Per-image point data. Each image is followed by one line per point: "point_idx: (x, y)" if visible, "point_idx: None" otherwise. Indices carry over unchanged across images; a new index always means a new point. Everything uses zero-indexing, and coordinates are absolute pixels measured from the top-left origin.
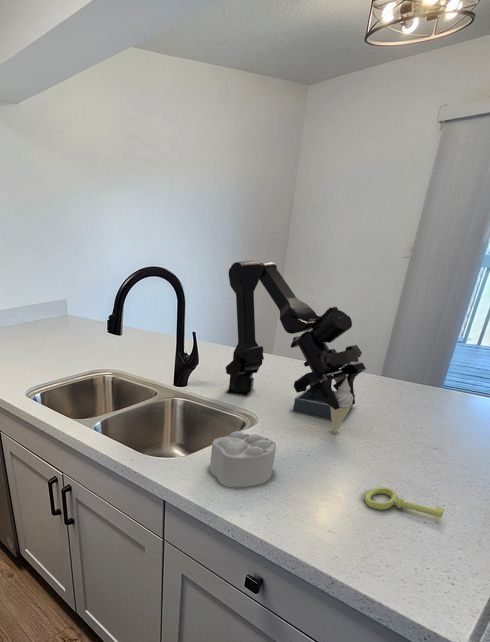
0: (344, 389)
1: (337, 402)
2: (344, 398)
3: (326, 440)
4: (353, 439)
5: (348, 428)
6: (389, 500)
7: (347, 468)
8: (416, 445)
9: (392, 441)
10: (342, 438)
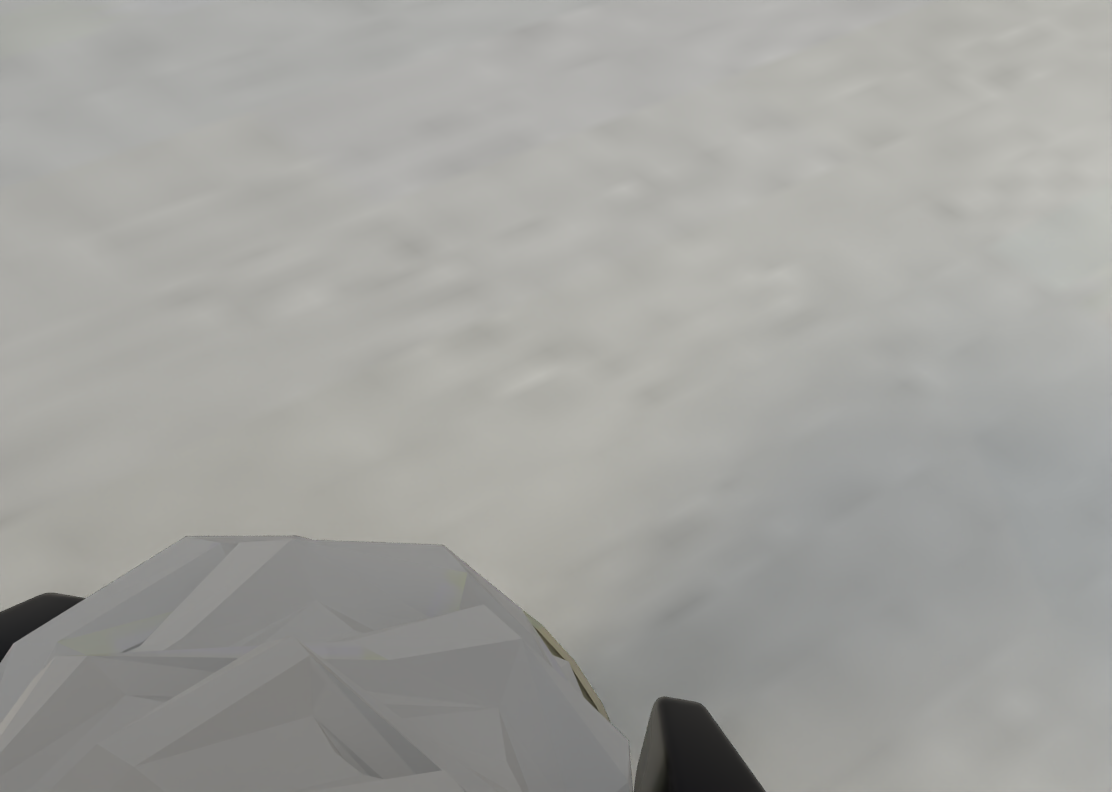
0: (440, 785)
1: (695, 790)
2: (536, 660)
3: None
4: (407, 520)
5: None
6: None
7: (1099, 229)
8: (58, 36)
9: (123, 213)
10: None
